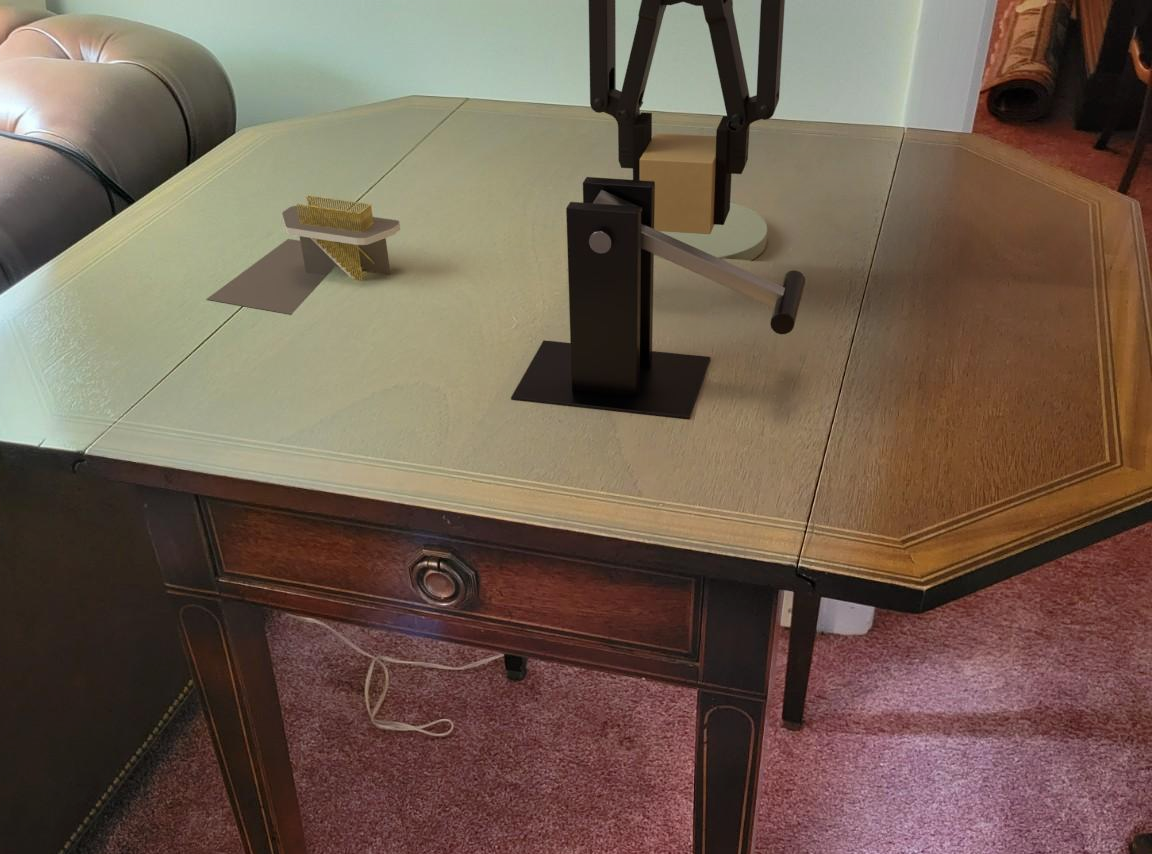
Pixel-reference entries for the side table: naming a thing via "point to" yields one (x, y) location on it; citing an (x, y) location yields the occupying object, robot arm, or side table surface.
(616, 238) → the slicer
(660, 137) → the cake slice
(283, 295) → the platform
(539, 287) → the side table surface
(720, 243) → the plate
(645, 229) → the blade
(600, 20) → the robot arm
